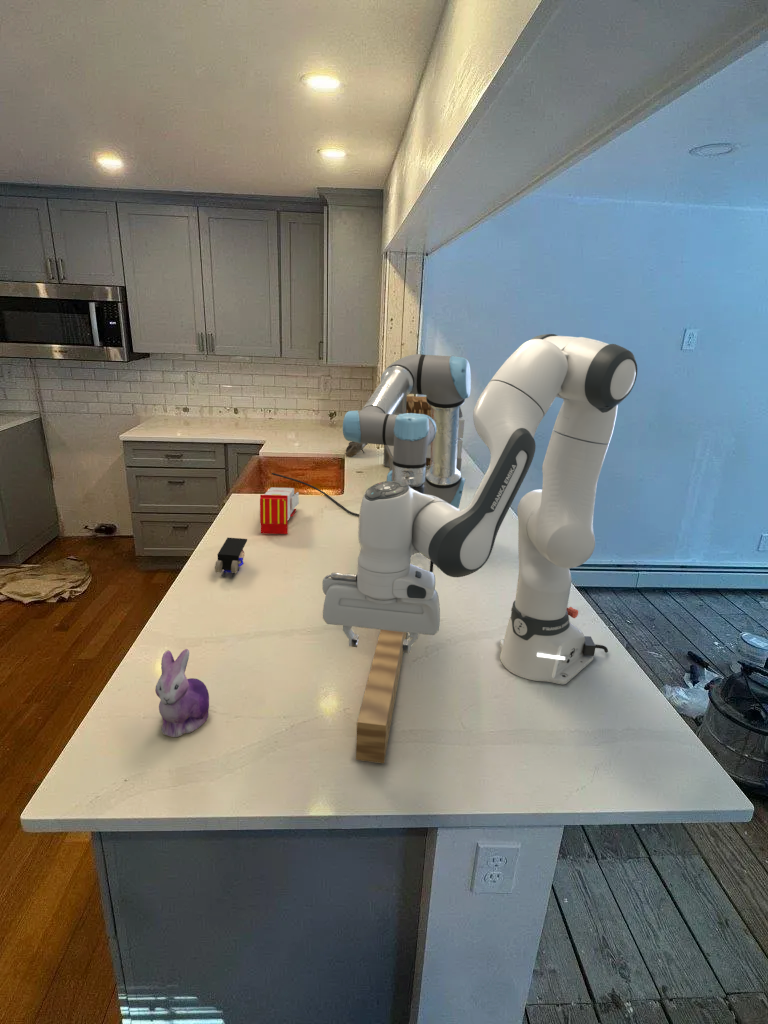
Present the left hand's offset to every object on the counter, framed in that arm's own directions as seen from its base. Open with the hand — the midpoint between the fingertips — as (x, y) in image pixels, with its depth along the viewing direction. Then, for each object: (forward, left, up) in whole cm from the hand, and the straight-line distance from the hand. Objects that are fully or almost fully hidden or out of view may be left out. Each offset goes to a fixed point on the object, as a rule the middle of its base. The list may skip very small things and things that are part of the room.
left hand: (403, 567), depth 136 cm
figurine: (+1, -55, -16) cm, 58 cm away
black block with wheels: (-53, -19, -16) cm, 59 cm away
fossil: (-146, +101, -16) cm, 178 cm away
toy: (-81, +14, -16) cm, 84 cm away
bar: (+12, -15, -16) cm, 25 cm away
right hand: (+25, -29, +2) cm, 38 cm away
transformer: (-99, +102, -16) cm, 143 cm away
